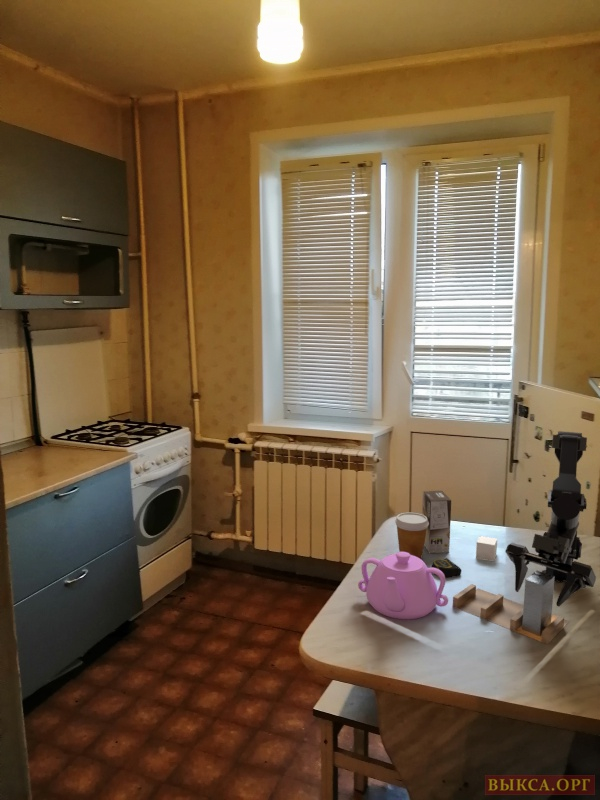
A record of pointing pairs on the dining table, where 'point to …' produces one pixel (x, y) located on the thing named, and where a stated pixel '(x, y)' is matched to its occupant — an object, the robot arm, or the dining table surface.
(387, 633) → the dining table surface
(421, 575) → the teapot
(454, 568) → the tape measure
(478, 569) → the dining table surface
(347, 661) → the dining table surface
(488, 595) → the rail rack
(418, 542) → the disposable coffee cup
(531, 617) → the tall grey box
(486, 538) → the cream white cube
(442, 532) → the coffee box
